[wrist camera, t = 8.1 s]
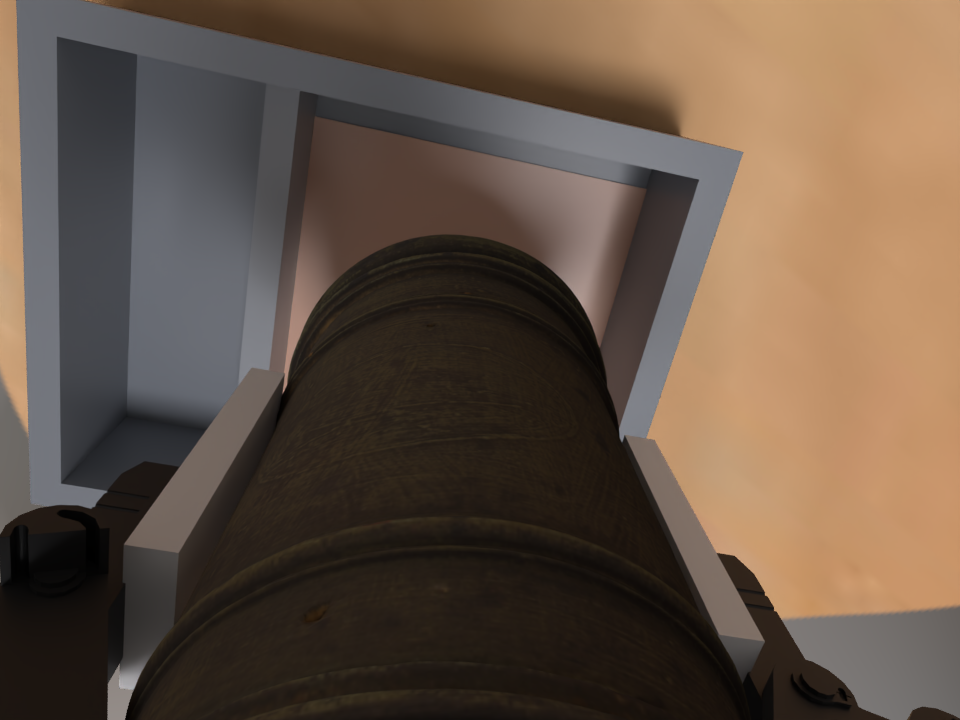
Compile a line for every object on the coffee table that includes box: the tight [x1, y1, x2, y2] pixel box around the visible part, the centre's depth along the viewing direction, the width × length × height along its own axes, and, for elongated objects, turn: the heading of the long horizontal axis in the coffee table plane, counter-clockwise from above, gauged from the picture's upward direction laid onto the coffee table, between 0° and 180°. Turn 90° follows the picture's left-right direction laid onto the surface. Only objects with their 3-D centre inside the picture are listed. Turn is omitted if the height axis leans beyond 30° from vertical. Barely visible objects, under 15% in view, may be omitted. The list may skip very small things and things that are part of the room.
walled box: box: [16, 0, 743, 509], centre depth 25 cm, size 16×20×6 cm
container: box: [125, 234, 751, 720], centre depth 13 cm, size 9×9×18 cm
